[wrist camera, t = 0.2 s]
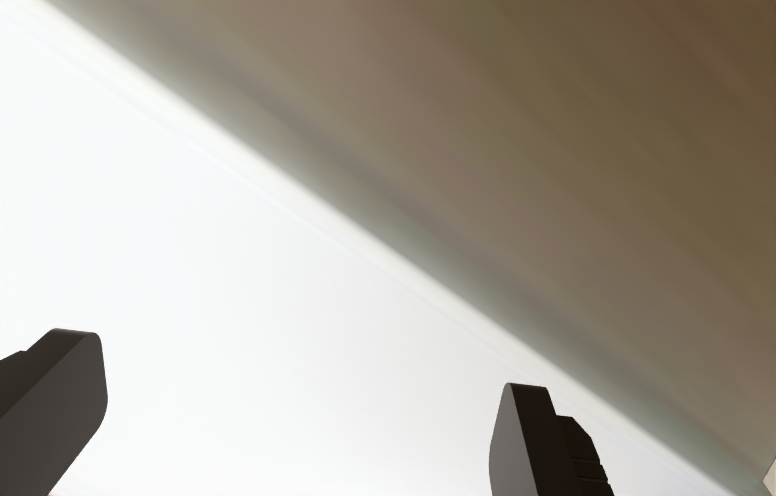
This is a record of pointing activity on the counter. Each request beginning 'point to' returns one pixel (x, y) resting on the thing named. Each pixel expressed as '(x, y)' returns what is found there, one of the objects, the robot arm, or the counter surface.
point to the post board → (771, 479)
